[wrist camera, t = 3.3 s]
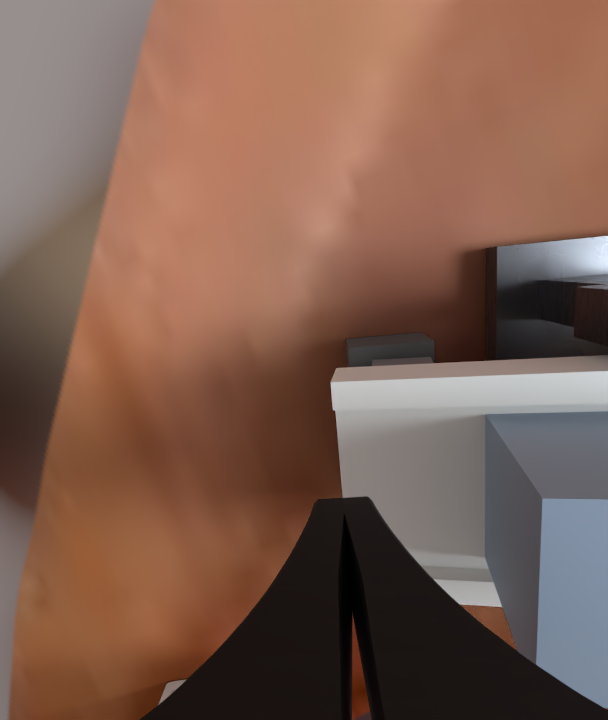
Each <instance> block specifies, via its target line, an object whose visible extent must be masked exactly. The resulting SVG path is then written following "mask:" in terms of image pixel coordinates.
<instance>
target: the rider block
mask: <svg viewBox="0 0 608 720" xmlns="http://www.w3.org/2000/svg"><path fill="white" fill-rule="evenodd" d="M485 559H486V562H487V565H488V568H489V571H490V573H491V576H492V579H493V582H494V585H495V588H496V591H497V594H498V596H499V599H500V602H501V605H502V608H503V611H504V614H505V616H506V619H507V622H508V625H509V628H510V631H511V634H512V637H513V639H514V642H515V645H516V648H517V651H518V652H519V653H520V654H522V655H523V656H525V657H526V658H527V659H529V660H530V661H531V662H533V663H534V664H536V665H537V666H539V667H540V668H542V669H543V670H545V671H546V672H548V673H549V674H551V675H552V676H554V677H555V678H557V679H558V680H560V681H561V682H563V683H564V684H566V685H567V686H569V687H570V688H572V689H573V690H575V691H576V692H578V693H580V694H581V695H583V696H585V697H586V698H588V699H590V700H591V701H593V702H595V703H596V704H598V705H600V706H601V707H603V708H608V411H599V412H556V413H512V414H485Z"/></svg>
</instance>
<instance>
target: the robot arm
mask: <svg viewBox="0 0 608 720" xmlns="http://www.w3.org/2000/svg"><path fill="white" fill-rule="evenodd" d="M352 612H353V618H354V623H355V629H356V635H357V640H358V646H359V651H360V657H361V662H362V668H363V673H364V679H365V684H366V690H367V696H368V701H369V707H370V712H371V718H372V720H608V710H607V709H605V708H603V707H601V706H600V705H598V704H596V703H595V702H593V701H591V700H590V699H588V698H586V697H585V696H583V695H581V694H580V693H578V692H576V691H575V690H573V689H572V688H570V687H569V686H567V685H566V684H564V683H563V682H561V681H560V680H558V679H557V678H555V677H554V676H552V675H551V674H549V673H548V672H546V671H545V670H543V669H542V668H540V667H539V666H537V665H536V664H534V663H533V662H531V661H530V660H529V659H527V658H526V657H525V656H523V655H522V654H520V653H519V652H518V651H516V650H515V649H514V648H512V647H511V646H510V645H509V644H507V643H506V642H505V641H503V640H502V639H501V638H499V637H498V636H497V635H495V634H494V633H493V632H492V631H490V630H489V629H488V628H486V627H485V626H484V625H483V624H481V623H480V622H479V621H478V620H477V619H476V618H474V617H473V616H472V615H471V614H470V613H468V612H467V611H466V610H465V609H464V608H463V607H462V606H461V605H460V604H458V603H457V602H456V601H455V600H454V599H453V598H452V597H451V596H450V595H449V594H448V593H447V592H446V591H445V590H444V589H443V588H442V587H441V586H440V585H439V584H438V583H437V582H436V581H435V580H434V579H433V578H432V577H431V576H430V575H429V574H428V573H427V572H426V571H425V570H424V569H423V568H422V566H421V565H420V564H419V563H418V562H417V561H416V560H415V559H414V558H413V556H412V555H411V554H410V553H409V552H408V550H407V549H406V548H405V547H404V545H403V544H402V543H401V542H400V540H399V539H398V538H397V537H396V536H395V534H394V533H393V532H392V530H391V529H390V527H389V526H388V525H387V523H386V522H385V520H384V519H383V517H382V516H381V514H380V513H379V511H378V510H377V508H376V506H375V505H374V503H373V501H372V500H371V499H370V498H369V497H368V496H364V497H348V498H332V499H318V500H317V501H316V502H315V503H314V506H313V509H312V512H311V514H310V517H309V519H308V521H307V524H306V526H305V528H304V530H303V532H302V534H301V536H300V538H299V539H298V541H297V543H296V545H295V547H294V549H293V551H292V552H291V554H290V556H289V558H288V559H287V561H286V562H285V564H284V565H283V567H282V569H281V570H280V572H279V573H278V575H277V576H276V578H275V579H274V581H273V583H272V584H271V585H270V587H269V588H268V590H267V591H266V592H265V594H264V595H263V597H262V598H261V599H260V601H259V602H258V603H257V604H256V606H255V607H254V608H253V609H252V611H251V612H250V613H249V615H248V616H247V617H246V618H245V619H244V621H243V622H242V623H241V624H240V625H239V626H238V627H237V628H236V630H235V631H234V632H233V633H232V634H231V635H230V636H229V638H228V639H227V640H226V641H225V642H224V643H223V644H222V645H221V646H220V647H219V649H218V650H217V651H216V652H215V653H214V654H213V655H212V656H211V657H210V658H209V659H208V660H207V661H206V662H205V663H204V664H203V665H202V666H201V667H199V668H198V669H197V670H196V671H195V672H194V673H193V674H192V675H191V676H190V677H189V678H188V679H187V680H186V681H185V682H184V683H183V684H182V685H181V686H179V687H178V688H177V689H176V690H175V691H174V692H173V693H172V694H171V695H169V696H168V697H167V698H166V699H165V700H164V701H162V702H161V703H160V704H159V705H158V706H157V707H155V708H154V709H153V710H152V711H150V712H149V713H148V714H147V715H145V716H144V717H143V718H142V719H140V720H352Z"/></svg>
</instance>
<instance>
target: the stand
mask: <svg viewBox="0 0 608 720" xmlns="http://www.w3.org/2000/svg"><path fill="white" fill-rule="evenodd" d="M599 355H608V236H601V237H591V238H581V239H571V240H561V241H551V242H540V243H530V244H520V245H510V246H500V247H491V248H486V361H494V360H515V359H536V358H557V357H578V356H599Z"/></svg>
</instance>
